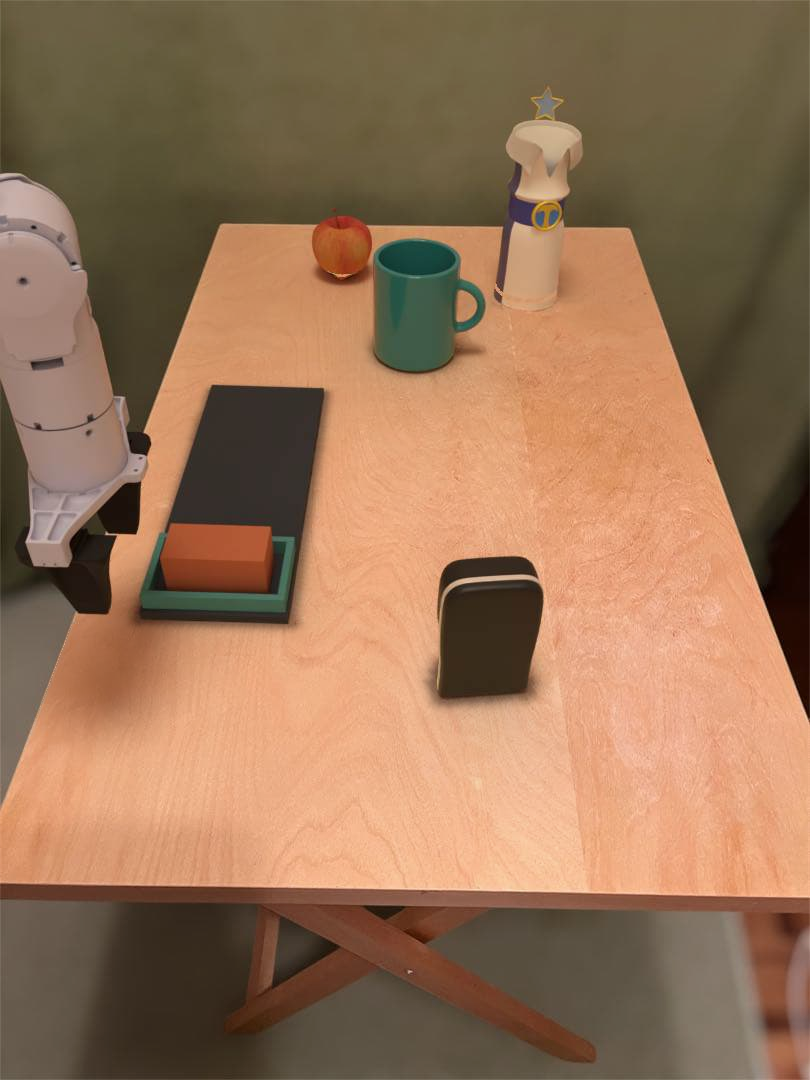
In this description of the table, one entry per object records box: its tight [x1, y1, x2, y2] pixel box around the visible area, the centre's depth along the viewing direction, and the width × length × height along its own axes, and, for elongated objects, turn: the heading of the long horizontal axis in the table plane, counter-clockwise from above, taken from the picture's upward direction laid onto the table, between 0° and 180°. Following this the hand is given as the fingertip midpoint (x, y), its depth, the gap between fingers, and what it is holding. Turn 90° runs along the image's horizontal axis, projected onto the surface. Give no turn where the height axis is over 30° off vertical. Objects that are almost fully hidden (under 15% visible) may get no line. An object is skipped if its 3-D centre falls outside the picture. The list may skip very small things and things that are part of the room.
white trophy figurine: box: [493, 85, 584, 312], centre depth 103 cm, size 8×9×25 cm
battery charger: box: [436, 555, 545, 697], centre depth 64 cm, size 7×4×11 cm, turn 96°
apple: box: [311, 207, 373, 281], centre depth 112 cm, size 7×7×8 cm
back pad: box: [138, 384, 325, 625], centre depth 82 cm, size 32×12×2 cm, turn 179°
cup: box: [372, 237, 487, 373], centre depth 97 cm, size 9×12×11 cm
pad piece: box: [160, 523, 275, 594], centre depth 73 cm, size 4×8×4 cm, turn 89°
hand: (109, 568), depth 62 cm, fingers open, 7 cm apart
